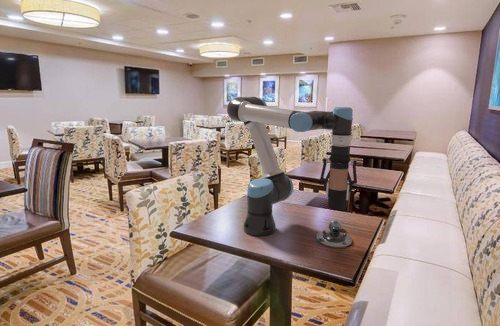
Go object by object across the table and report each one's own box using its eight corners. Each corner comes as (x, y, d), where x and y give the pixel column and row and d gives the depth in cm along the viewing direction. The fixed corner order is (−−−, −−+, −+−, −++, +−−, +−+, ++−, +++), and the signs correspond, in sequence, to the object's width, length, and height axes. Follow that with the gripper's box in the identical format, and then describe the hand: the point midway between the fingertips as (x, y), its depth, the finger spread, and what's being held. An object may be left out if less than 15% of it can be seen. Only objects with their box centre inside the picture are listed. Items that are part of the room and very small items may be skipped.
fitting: (314, 244, 134) (315, 232, 133) (319, 225, 154) (320, 214, 153) (351, 250, 130) (352, 237, 129) (351, 229, 150) (352, 218, 149)
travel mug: (327, 209, 133) (330, 163, 129) (326, 203, 140) (329, 159, 136) (346, 211, 131) (350, 164, 127) (344, 205, 139) (348, 160, 135)
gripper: (314, 145, 130) (311, 198, 134) (367, 147, 124) (362, 203, 128) (316, 142, 137) (313, 193, 141) (366, 145, 131) (362, 197, 135)
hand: (337, 197), depth 135 cm, fingers closed on travel mug, 8 cm apart
